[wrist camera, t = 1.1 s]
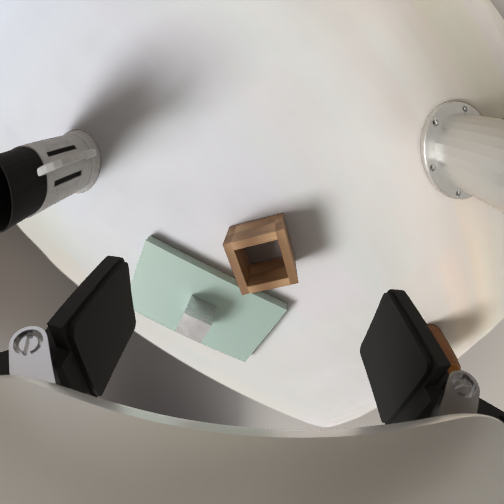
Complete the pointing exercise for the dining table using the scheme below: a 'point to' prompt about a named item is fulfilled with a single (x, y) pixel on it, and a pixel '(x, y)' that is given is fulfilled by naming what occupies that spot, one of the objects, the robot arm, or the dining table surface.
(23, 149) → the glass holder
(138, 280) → the base board
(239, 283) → the walnut collar
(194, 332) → the white plaster cube
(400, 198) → the dining table surface
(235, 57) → the dining table surface
